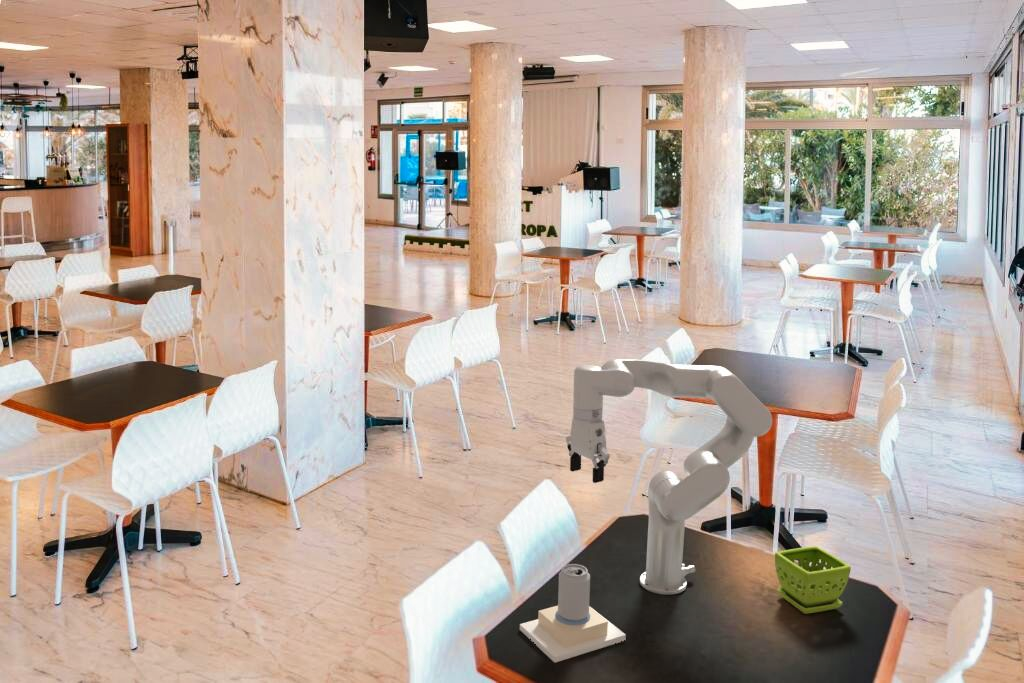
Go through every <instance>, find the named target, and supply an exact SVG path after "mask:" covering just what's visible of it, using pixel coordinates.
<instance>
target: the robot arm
mask: <svg viewBox="0 0 1024 683" xmlns="http://www.w3.org/2000/svg"><path fill="white" fill-rule="evenodd" d="M635 388H641V389H645V390H650V391H653V392H654V393H655V392H656V393H659V394H661V395H662V396H666V397H668V398H677V399H678V398H686V399H689V398H690V399H711V400H712V401H713V402H714V403H715V405H717V406H718V408H720V410H721V411H722V412H723V413H724V414H725V415H726V416H727V417H726V421H725V423H724V426H723V428H722V429H721V430H720V431H719V432H718V433H717V434H716V435H715V436H713V437H712V438H711V439H710V440H708V441H706V442H705V443H704V444H703V445H702V446H700V447H699V448H697V449H696V450H694V451H692V453H690V454H689V455H688V456H686V458H685V459H684V462H683V467H682V468H683V471H684V474H685V476H686V477H684V478H682V477H681V476H680V475H679V474H677V473H676V472H674V471H672V470H662V471H659V472H656V473H655V474H654V475H653V476H652V478H651V479H650V481H649V483H648V488H647V490H648V491H647V498H648V499H647V502H648V526H647V529H648V530H647V541H646V542H647V543H646V544H647V545H646V565H645V571H644V572H643V573H642V574H641V575H640V576H639V584H640V586H642V588H643V589H645V590H647V591H648V592H651V593H655V594H658V595H668V596H670V595H676V594H680V593H682V592H683V591H686V589H687V587H688V586H687V585H688V582H687V579H686V577H685V576H687V575H688V574H692V573H695V572H696V567H695V565H692V564H691V565H688V566H686V565H685V563H683V557H684V553H683V552H684V540H685V539H684V538H685V525H686V523H685V522H686V520H688V519H690V518H692V517H693V516H695V515H696V514H698V513H699V512H701V511H702V510H703V509H704V508H706V507H707V506H709V505H710V504H711V503H713V502H714V501H716V500H717V499H719V498H720V497H721V496H722V495H723V494H724V493H725V491H726V490H727V489H728V487H729V484H730V480H731V476H730V475H731V474H730V471H729V470H728V469H729V468H731V467H732V466H733V465H734V464H735V463H736V462H738V461H739V460H740V459H741V458H742V457H744V456H745V455H746V454H747V452H748V451H749V449H750V448H751V446H752V444H753V442H754V438H757V437H762V436H764V435H766V434H767V433H768V432H769V431H770V430H771V428H772V425H773V416H772V413H771V411H770V410H769V409H768V407H766V406H765V404H764V403H763V402H761V401H760V399H759V398H758V397H757V396H756V395H755V394H754V393H753V392H752V390H750V389H749V388H748V387H747V386H746V385H745V384H744V383H743V381H742V380H741V379H740V378H739V377H738V376H737V375H735V374H734V373H733V372H731V371H730V370H729V369H727V368H726V367H725V366H724V367H723V366H720V365H703V364H702V365H701V364H699V365H697V364H675V363H674V364H671V363H665V362H656V361H650V360H642V359H619V358H618V359H611V360H608V361H606V362H604V363H603V364H602V366H601V367H600V366H598V365H594V364H582V365H579V366H577V367H575V368H574V371H573V401H572V402H573V403H572V404H573V406H572V407H573V409H572V410H573V412H572V420H571V426H570V435H568V436H566V437H565V440H566V446H567V449H568V456H569V458H570V460H569V464H570V465H569V470H570V471H571V473H572V472H577V471H580V470H581V469H582V457H585V458H587V459H589V460H591V462H592V464H593V467H592V483H594V484H596V483H601V482H604V481H605V480H604V478H605V467H607V466H606V465H607V464H609V463H608V462H609V459H610V453H609V452H608V450H607V436H606V435H607V433H606V426H605V421H604V420H603V412H604V410H603V409H604V408H603V407H604V402H603V401H604V396H606V397H607V396H608V397H615V398H622V397H623V398H624V397H627V396H629V395H630V394H632V393H633V392H634V390H635ZM597 460H598V461H597Z"/></svg>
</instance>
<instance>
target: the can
mask: <svg viewBox="0 0 1024 683" xmlns="http://www.w3.org/2000/svg"><path fill="white" fill-rule="evenodd" d="M588 570H589V569H587V567H586V566H584V565H582V564H578V563H568V564H565V565H564V566H562V567H561V571H559V573H558V595H557V597H558V598H557V602H558V603H557V606H558V613H559V615H560V616H562V618H564V619H565V620H568V621H580V620H583V619H584V618H585V617H587V616H588V614H589V606H590V594H591V593H590V591H591V574H590V573H589V571H588Z"/></svg>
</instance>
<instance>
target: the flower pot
mask: <svg viewBox="0 0 1024 683" xmlns="http://www.w3.org/2000/svg"><path fill="white" fill-rule="evenodd" d="M795 561H797V564H796V563H795ZM810 563H811V564H810ZM774 564H775V572H776V576H777V578H778V579H777V580H778V582H779V584H780V586H781V587H778V588H776V591H777V593H778V594H779V595H780V596H781V597H782V598H783V599H784V600H786V601H787V602H788V603H789V604H791V605H792V606H793V607H795V608H796V609H798V610H799V611H800V612H802V613H803V614H805V615H807V614H813V613H820V612H826V611H832V610H835V609H838V608H839V607H841V606H842V605H843V601H842V600H840V599H839V598H840V597H841V595H842V594H843V592H844V590H845V589H846V586H847V585H848V582H849V578H850V574H851V568H852V567H851V565H849V564H848V563H847V562H845V561H843V560H842V559H840V558H839V557H837V556H835V555H833V554H832V553H830V552H828V551H827V550H825V549H823V548H821V547H819V546H817V545H813V546H804V547H797V548H791V549H786V550H785V549H784V550H779V551H776V552H775V553H774ZM824 568H825V569H824Z"/></svg>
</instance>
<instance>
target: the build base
mask: <svg viewBox="0 0 1024 683" xmlns="http://www.w3.org/2000/svg"><path fill="white" fill-rule="evenodd" d="M537 614H538V616H537V617H538V618H537V619H534V620H529V621H527V622H523V623H519V631H520V632H522V634H524V635H525V636H526V638H528V639H529V640H530V639H531V640H530V641H531V642H532V643H533V642H534V643H533V644H534V645H535V644H536V645H535V646H536V647H537V648H539V650H541V651H542V653H544V654H545V655H546V656H547V657H548V658H549V659H550V660H551V661H552V662H553V663H558V662H561V661H564V660H568V659H571V658H574V657H577V656H580V655H584V654H586V653H590V652H593V651H596V650H599V649H602V648H603V649H604V648H606V647H610V646H613V645H615V643H616V644H618V643H622V642H624V640H625V641H626V636H627V635H626V633H624V632H623V631H622V630H621V629H619V628H618V627H617V626H615V624H613V623H611V621H609V620H608V619H607V618H605V617H604V616H603V615H602V614H600V613H599V612H598V611H596V609H594V608H593V607H592V606H590V605H589V614H588V616H587V617H585V618H584V619H583V620H580V621H568V620H565V619H564V618H562V616H560V615H559V613H558V605H555V606H551V607H548V608H544V609H543V608H542V609H540V610H538V613H537ZM621 641H622V642H621Z"/></svg>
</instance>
